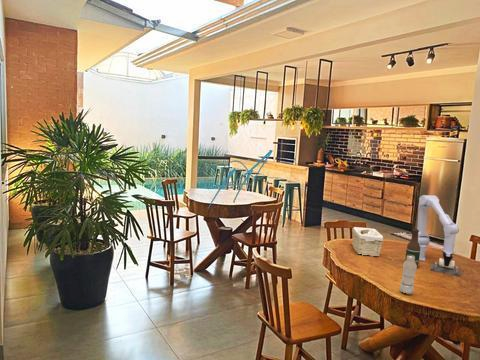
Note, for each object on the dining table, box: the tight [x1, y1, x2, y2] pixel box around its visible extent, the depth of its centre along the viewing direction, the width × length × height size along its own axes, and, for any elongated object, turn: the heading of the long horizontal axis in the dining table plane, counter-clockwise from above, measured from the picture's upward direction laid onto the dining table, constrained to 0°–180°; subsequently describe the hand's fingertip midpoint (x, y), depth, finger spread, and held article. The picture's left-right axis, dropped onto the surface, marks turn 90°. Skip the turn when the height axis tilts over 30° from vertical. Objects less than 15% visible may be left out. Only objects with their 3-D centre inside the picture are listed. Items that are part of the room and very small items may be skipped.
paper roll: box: [438, 257, 456, 269], centre depth 225 cm, size 9×5×5 cm, turn 61°
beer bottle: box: [404, 228, 420, 268], centre depth 229 cm, size 8×8×24 cm
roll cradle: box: [430, 261, 462, 277], centre depth 226 cm, size 16×10×4 cm, turn 61°
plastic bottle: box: [399, 255, 417, 295], centre depth 186 cm, size 6×7×20 cm
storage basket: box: [352, 226, 384, 257], centre depth 255 cm, size 24×16×15 cm
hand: (446, 264), depth 225 cm, fingers closed on paper roll, 5 cm apart
